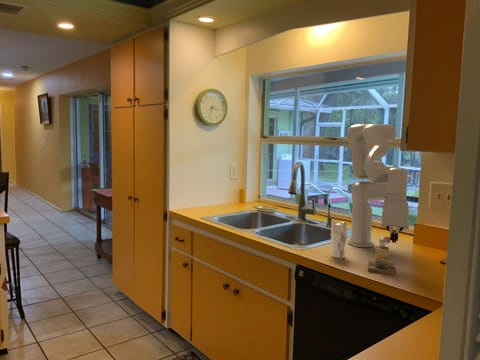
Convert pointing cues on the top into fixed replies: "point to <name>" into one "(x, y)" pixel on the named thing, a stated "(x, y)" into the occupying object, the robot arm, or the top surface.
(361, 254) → the top surface
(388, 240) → the valve lever
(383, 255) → the valve
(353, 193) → the robot arm
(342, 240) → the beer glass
